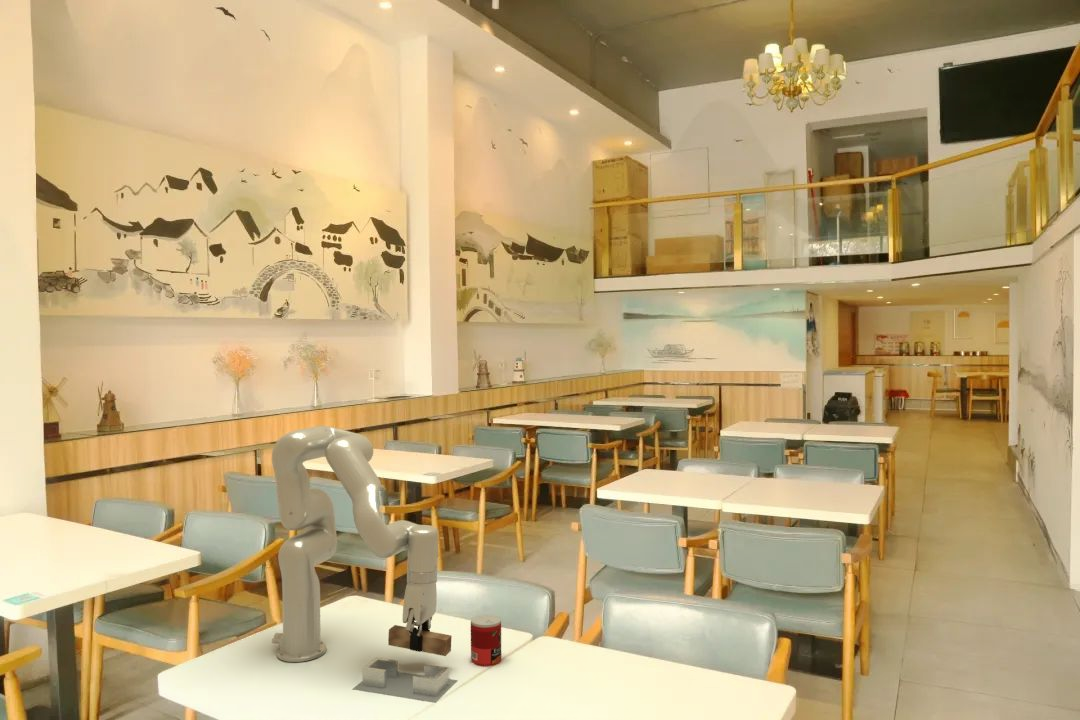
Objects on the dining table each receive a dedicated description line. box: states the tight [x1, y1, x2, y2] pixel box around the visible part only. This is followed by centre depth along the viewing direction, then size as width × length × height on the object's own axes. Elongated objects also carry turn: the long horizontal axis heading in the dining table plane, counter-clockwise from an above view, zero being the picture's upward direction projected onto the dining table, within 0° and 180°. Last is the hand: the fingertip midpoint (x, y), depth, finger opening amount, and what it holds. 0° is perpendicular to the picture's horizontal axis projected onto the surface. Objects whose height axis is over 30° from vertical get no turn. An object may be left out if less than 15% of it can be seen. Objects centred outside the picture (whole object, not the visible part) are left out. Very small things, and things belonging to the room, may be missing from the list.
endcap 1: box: [361, 657, 399, 688], centre depth 180 cm, size 6×7×4 cm
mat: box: [352, 670, 458, 704], centre depth 178 cm, size 22×12×1 cm, turn 71°
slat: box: [387, 624, 453, 657], centre depth 187 cm, size 16×3×4 cm, turn 71°
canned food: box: [470, 614, 502, 667], centre depth 192 cm, size 8×8×11 cm
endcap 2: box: [413, 664, 450, 697], centre depth 176 cm, size 6×7×4 cm
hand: (419, 646), depth 187 cm, fingers closed on slat, 3 cm apart
